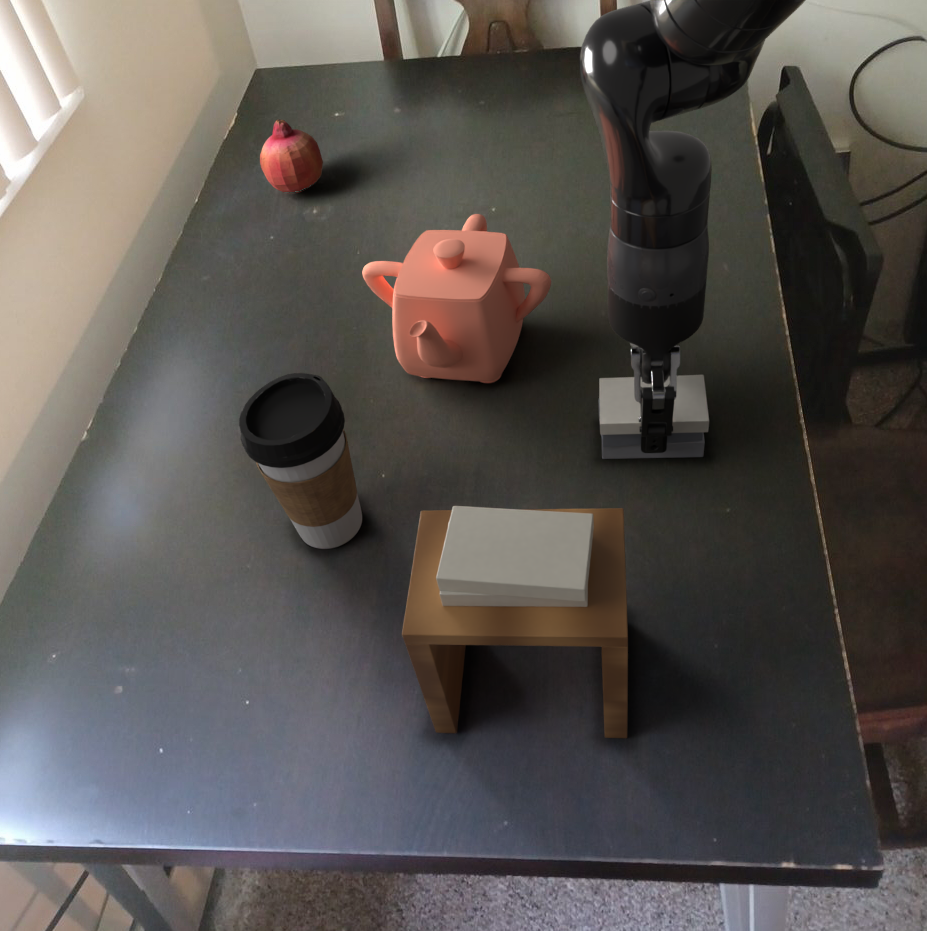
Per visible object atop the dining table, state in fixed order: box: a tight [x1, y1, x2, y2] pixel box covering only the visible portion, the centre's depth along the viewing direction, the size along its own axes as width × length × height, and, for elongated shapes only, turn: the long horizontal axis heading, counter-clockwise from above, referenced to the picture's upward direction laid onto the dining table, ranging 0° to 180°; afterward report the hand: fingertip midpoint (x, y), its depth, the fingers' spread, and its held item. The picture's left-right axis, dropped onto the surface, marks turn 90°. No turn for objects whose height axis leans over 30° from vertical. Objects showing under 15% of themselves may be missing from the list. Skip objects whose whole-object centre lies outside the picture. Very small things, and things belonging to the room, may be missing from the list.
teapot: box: [361, 213, 552, 384], centre depth 90 cm, size 17×16×13 cm
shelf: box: [401, 507, 629, 739], centre depth 64 cm, size 14×10×14 cm
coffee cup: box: [238, 372, 363, 550], centre depth 76 cm, size 8×8×15 cm
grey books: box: [597, 397, 706, 460], centre depth 82 cm, size 9×5×4 cm, turn 85°
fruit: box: [259, 119, 324, 194], centre depth 118 cm, size 8×8×10 cm
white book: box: [598, 374, 710, 436], centre depth 80 cm, size 9×6×1 cm, turn 85°
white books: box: [436, 505, 594, 607], centre depth 58 cm, size 10×7×3 cm
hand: (651, 423), depth 82 cm, fingers closed on white book, 5 cm apart
